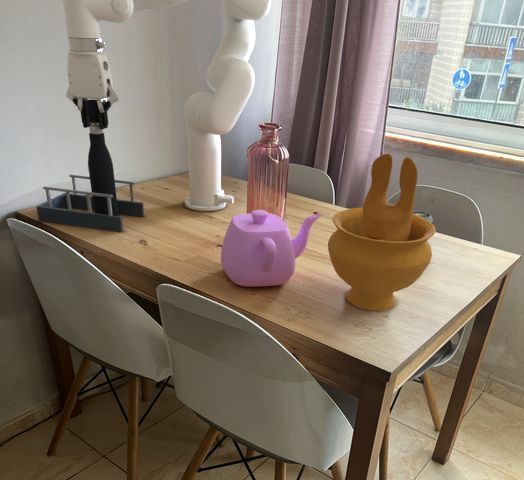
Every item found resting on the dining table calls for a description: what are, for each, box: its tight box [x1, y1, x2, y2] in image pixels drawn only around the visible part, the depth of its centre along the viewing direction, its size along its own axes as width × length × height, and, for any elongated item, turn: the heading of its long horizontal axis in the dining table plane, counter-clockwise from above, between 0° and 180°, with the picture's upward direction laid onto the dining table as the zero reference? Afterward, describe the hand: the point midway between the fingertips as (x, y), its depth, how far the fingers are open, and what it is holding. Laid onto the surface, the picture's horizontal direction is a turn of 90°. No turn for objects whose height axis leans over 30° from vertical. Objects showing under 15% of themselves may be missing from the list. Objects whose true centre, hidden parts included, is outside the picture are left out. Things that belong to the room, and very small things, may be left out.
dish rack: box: [36, 174, 145, 233], centre depth 152 cm, size 25×14×10 cm, turn 76°
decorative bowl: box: [327, 153, 437, 312], centre depth 111 cm, size 21×21×30 cm
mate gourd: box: [412, 193, 444, 242], centre depth 144 cm, size 8×8×15 cm
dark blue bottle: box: [85, 99, 120, 216], centre depth 145 cm, size 6×6×30 cm
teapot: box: [220, 209, 323, 288], centre depth 121 cm, size 23×21×15 cm
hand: (95, 126), depth 140 cm, fingers closed on dark blue bottle, 3 cm apart
